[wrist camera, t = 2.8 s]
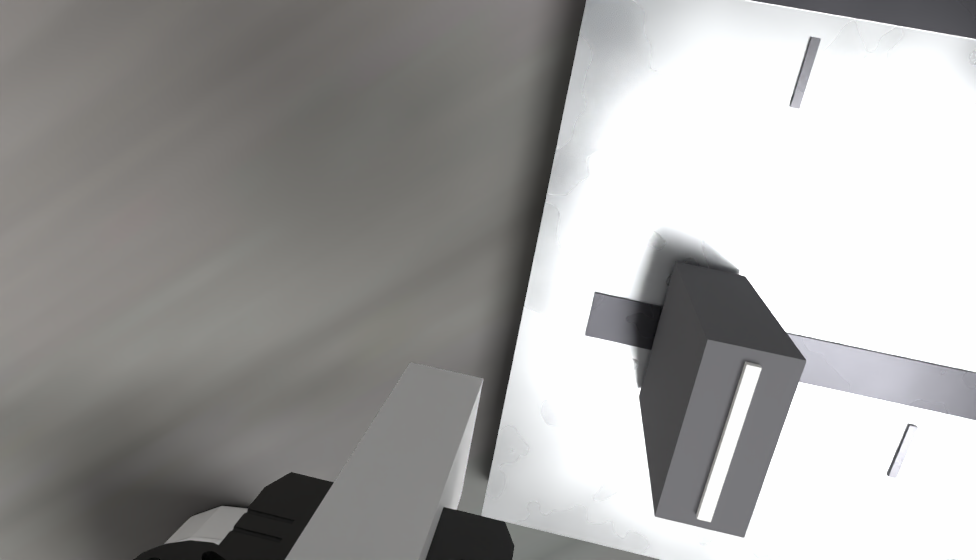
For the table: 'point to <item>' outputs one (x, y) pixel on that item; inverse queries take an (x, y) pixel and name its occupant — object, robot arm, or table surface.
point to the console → (761, 270)
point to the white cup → (209, 525)
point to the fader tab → (715, 399)
